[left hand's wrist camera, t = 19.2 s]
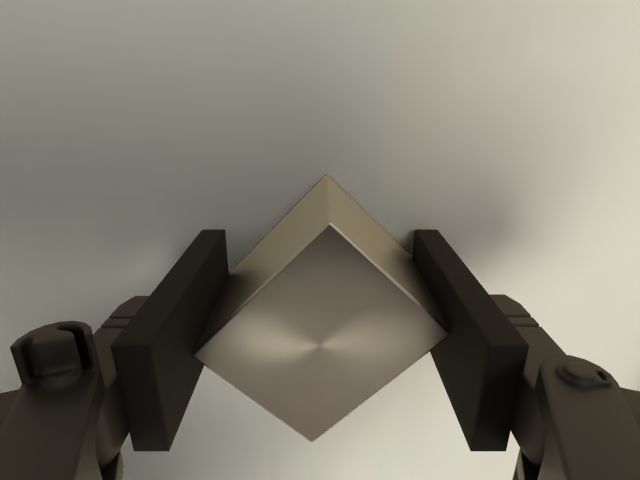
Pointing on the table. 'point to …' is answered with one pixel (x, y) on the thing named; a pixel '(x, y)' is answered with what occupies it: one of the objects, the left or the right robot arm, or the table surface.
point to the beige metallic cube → (320, 314)
